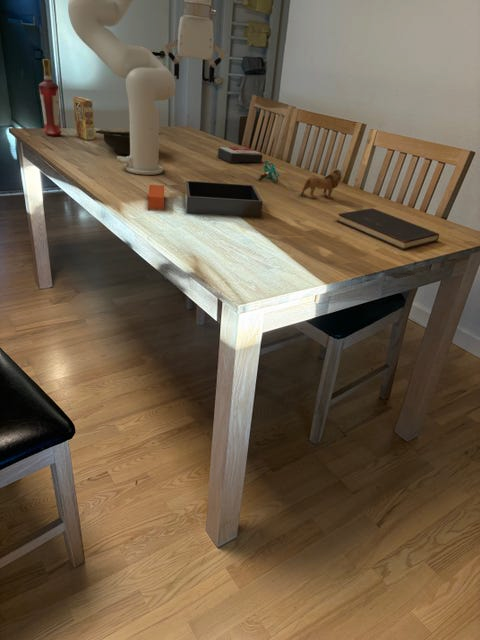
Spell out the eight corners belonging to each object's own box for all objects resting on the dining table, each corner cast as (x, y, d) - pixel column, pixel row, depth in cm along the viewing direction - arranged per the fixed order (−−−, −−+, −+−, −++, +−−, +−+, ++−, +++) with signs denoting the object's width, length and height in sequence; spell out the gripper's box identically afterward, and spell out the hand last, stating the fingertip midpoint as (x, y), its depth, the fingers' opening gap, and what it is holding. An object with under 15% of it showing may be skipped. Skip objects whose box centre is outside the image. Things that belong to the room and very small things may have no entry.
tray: (186, 214, 128) (187, 196, 126) (184, 196, 142) (185, 180, 140) (260, 218, 132) (262, 201, 129) (252, 200, 146) (253, 185, 143)
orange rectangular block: (148, 209, 128) (148, 196, 127) (149, 196, 139) (149, 184, 137) (163, 210, 129) (163, 197, 127) (163, 197, 139) (164, 185, 137)
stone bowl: (130, 160, 173) (128, 133, 169) (82, 152, 185) (79, 127, 180) (173, 151, 192) (172, 127, 187) (127, 145, 203) (125, 121, 199)
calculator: (263, 153, 192) (231, 151, 185) (261, 164, 194) (230, 163, 187) (249, 147, 200) (218, 145, 192) (247, 157, 202) (217, 156, 194)
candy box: (95, 139, 200) (93, 100, 192) (85, 140, 197) (83, 100, 190) (84, 135, 205) (82, 96, 197) (75, 135, 202) (72, 96, 195)
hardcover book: (402, 250, 121) (405, 241, 120) (336, 221, 136) (338, 213, 135) (437, 241, 130) (440, 233, 129) (371, 215, 145) (373, 207, 144)
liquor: (46, 132, 202) (38, 58, 188) (64, 134, 203) (58, 60, 189) (41, 135, 195) (33, 59, 181) (60, 137, 197) (53, 61, 182)
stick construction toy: (284, 177, 166) (272, 158, 163) (268, 189, 165) (256, 169, 162) (273, 178, 177) (262, 160, 174) (258, 189, 176) (247, 171, 174)
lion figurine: (331, 193, 162) (337, 167, 158) (340, 198, 158) (346, 171, 154) (295, 195, 156) (300, 167, 152) (304, 200, 152) (309, 171, 148)
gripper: (226, 16, 137) (221, 82, 145) (165, 9, 134) (164, 76, 143) (229, 16, 130) (223, 84, 139) (165, 8, 128) (164, 78, 136)
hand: (193, 80), depth 141 cm, fingers open, 9 cm apart
